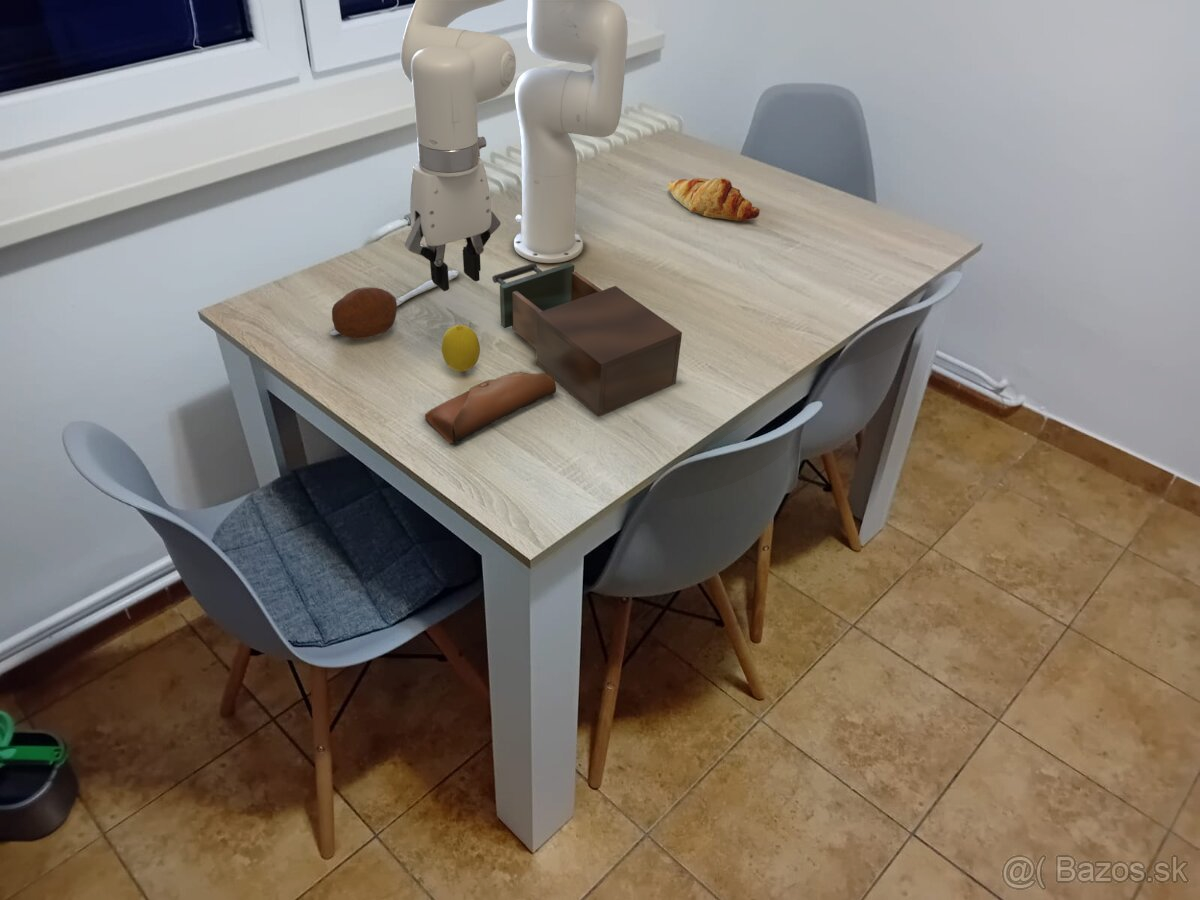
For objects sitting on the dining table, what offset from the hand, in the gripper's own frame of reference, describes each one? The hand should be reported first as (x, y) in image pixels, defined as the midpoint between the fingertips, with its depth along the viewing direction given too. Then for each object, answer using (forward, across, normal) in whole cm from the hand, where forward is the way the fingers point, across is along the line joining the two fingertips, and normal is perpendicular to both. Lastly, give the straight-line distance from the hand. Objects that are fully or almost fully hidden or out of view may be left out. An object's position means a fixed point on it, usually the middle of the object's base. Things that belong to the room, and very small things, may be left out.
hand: (456, 280), depth 126 cm
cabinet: (+15, -18, +12) cm, 26 cm away
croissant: (+16, -70, -21) cm, 75 cm away
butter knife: (+15, -1, -22) cm, 27 cm away
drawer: (+14, -17, -2) cm, 23 cm away
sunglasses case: (+16, +1, +10) cm, 19 cm away
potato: (+15, +7, -17) cm, 24 cm away
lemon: (+16, 0, 0) cm, 16 cm away
